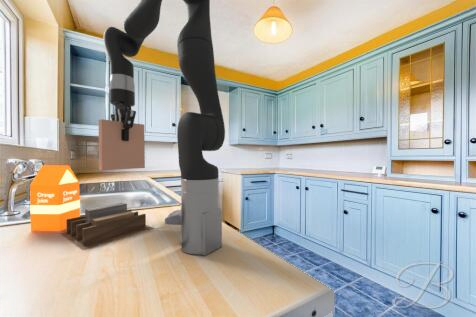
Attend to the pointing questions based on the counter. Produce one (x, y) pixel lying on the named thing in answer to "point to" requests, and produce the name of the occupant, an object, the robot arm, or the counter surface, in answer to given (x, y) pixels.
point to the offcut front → (111, 218)
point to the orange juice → (54, 198)
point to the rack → (103, 230)
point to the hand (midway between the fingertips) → (123, 141)
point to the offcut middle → (104, 211)
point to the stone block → (174, 218)
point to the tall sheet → (120, 146)
